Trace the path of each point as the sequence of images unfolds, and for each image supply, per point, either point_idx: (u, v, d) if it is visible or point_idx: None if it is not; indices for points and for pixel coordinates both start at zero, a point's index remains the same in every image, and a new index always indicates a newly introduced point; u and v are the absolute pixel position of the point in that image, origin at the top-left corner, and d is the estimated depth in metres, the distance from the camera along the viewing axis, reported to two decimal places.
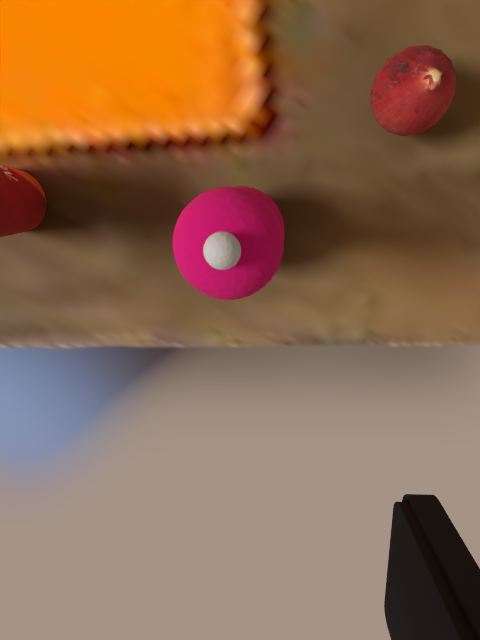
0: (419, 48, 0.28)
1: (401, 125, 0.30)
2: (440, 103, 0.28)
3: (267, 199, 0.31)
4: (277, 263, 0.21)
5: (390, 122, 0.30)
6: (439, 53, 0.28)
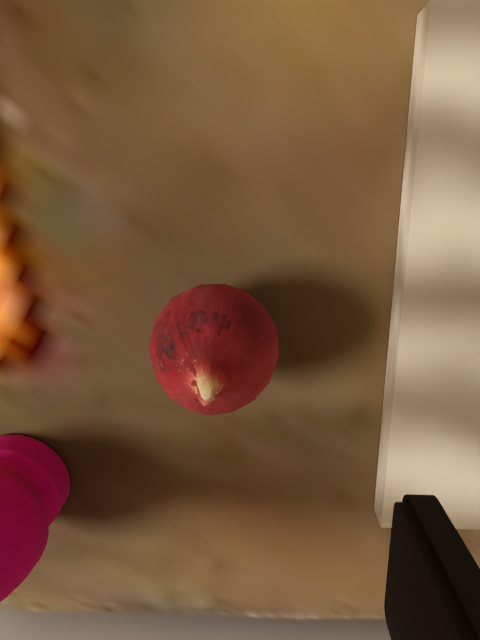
0: (199, 310, 0.16)
1: None
2: (238, 400, 0.17)
3: None
4: None
5: None
6: (229, 324, 0.16)
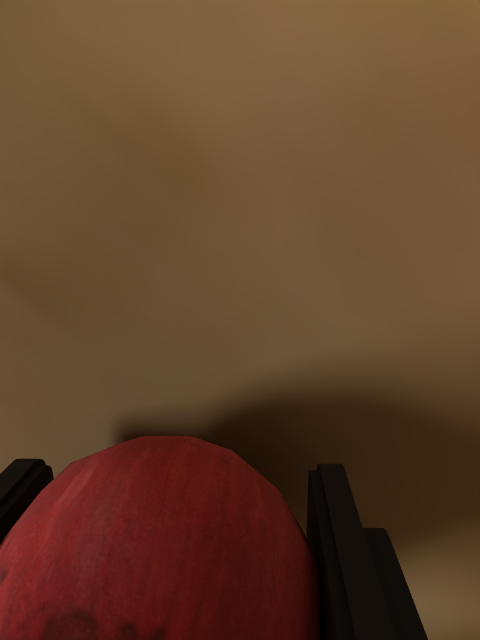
0: (75, 609, 0.05)
1: None
2: None
3: None
4: None
5: None
6: None
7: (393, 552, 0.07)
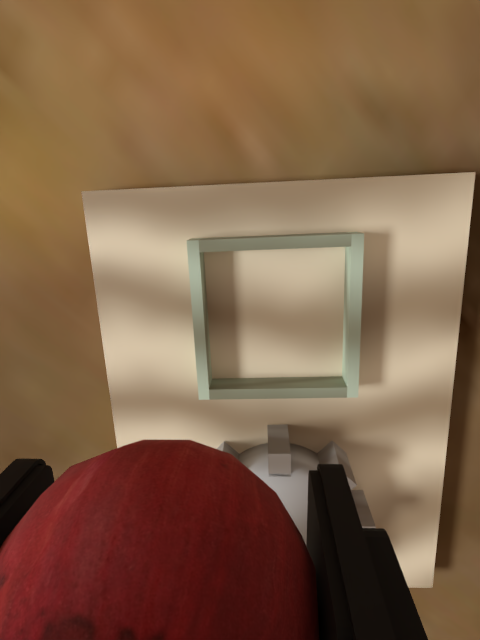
0: (74, 615, 0.05)
1: None
2: None
3: None
4: None
5: None
6: None
7: (393, 553, 0.07)
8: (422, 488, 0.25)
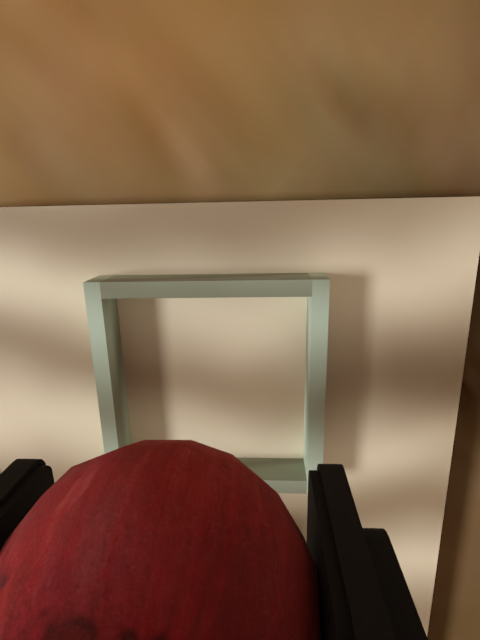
0: (76, 616, 0.05)
1: None
2: None
3: None
4: None
5: None
6: None
7: (393, 553, 0.07)
8: None
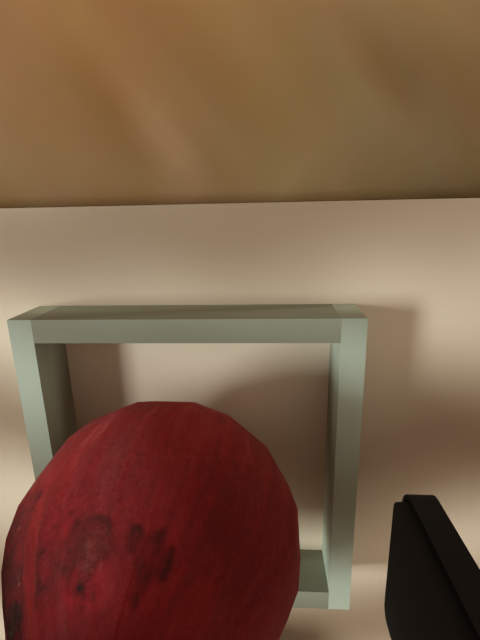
0: (96, 514, 0.06)
1: None
2: None
3: None
4: None
5: None
6: (170, 565, 0.06)
7: None
8: None
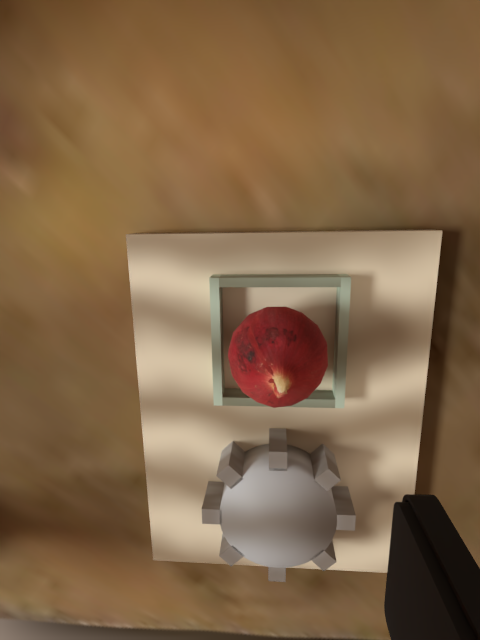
0: (272, 327, 0.22)
1: None
2: (300, 395, 0.22)
3: None
4: None
5: (248, 395, 0.24)
6: (296, 338, 0.21)
7: None
8: (398, 487, 0.30)
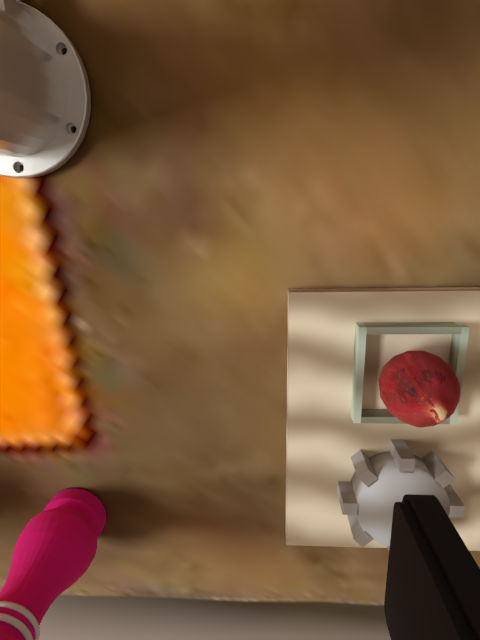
0: (425, 370, 0.29)
1: None
2: None
3: (70, 535, 0.37)
4: None
5: None
6: (445, 378, 0.29)
7: None
8: None
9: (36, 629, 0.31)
